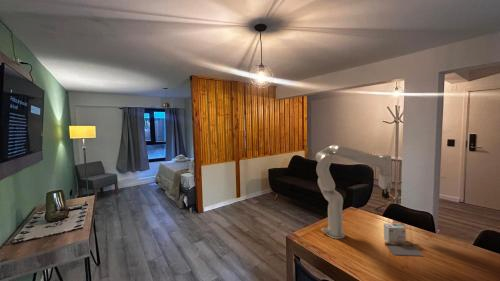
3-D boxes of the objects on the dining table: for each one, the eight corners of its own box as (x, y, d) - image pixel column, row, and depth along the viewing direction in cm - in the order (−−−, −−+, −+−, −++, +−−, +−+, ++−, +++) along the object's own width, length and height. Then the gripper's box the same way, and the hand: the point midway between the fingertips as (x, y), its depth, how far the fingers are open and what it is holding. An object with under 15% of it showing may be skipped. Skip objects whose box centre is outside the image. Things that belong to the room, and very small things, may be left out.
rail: (385, 245, 137) (385, 243, 137) (384, 244, 138) (384, 242, 138) (413, 246, 134) (413, 244, 134) (412, 245, 136) (411, 243, 136)
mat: (393, 255, 127) (393, 254, 127) (386, 246, 136) (386, 245, 136) (423, 256, 124) (423, 255, 124) (413, 247, 134) (413, 246, 134)
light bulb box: (399, 238, 145) (399, 222, 144) (406, 243, 138) (406, 227, 137) (383, 238, 146) (383, 222, 145) (388, 243, 139) (388, 227, 138)
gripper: (374, 170, 160) (375, 194, 161) (384, 175, 144) (384, 201, 145) (385, 169, 158) (385, 194, 160) (396, 174, 143) (396, 201, 144)
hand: (385, 197), depth 152 cm, fingers closed
